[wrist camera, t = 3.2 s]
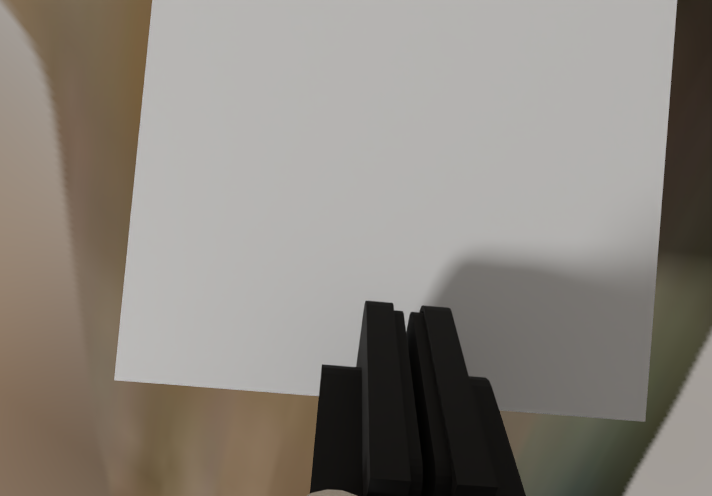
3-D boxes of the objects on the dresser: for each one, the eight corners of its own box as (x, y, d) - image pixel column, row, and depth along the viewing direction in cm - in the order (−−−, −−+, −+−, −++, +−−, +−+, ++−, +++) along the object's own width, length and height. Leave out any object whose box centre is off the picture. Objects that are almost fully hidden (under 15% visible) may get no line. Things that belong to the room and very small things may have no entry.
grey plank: (202, -262, 13) (185, -328, 12) (657, -201, 14) (696, -256, 12) (139, 366, 13) (114, 380, 11) (610, 403, 13) (645, 421, 12)
